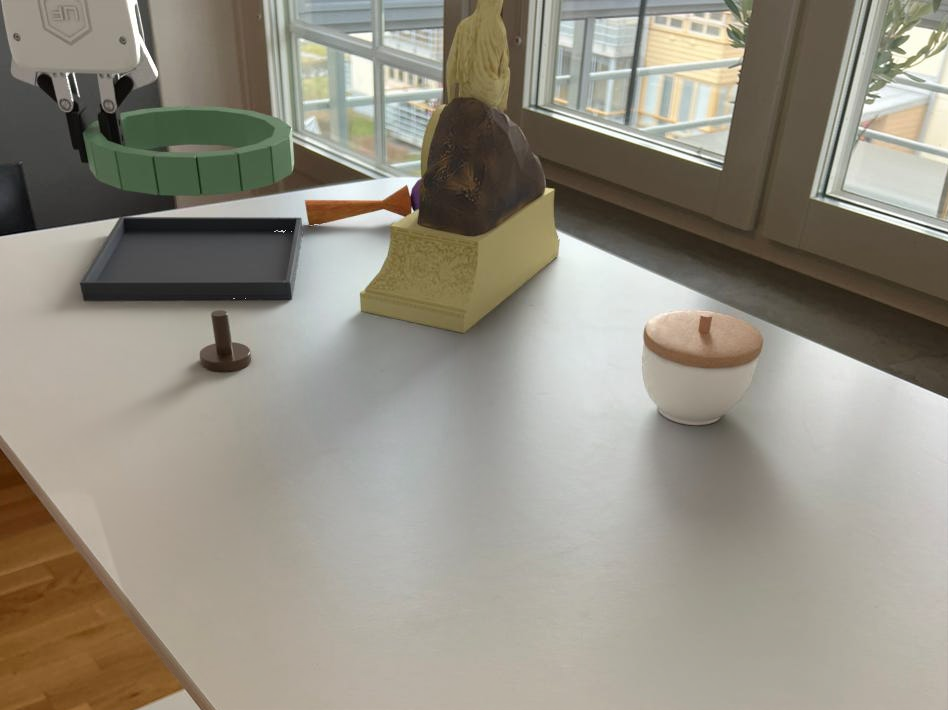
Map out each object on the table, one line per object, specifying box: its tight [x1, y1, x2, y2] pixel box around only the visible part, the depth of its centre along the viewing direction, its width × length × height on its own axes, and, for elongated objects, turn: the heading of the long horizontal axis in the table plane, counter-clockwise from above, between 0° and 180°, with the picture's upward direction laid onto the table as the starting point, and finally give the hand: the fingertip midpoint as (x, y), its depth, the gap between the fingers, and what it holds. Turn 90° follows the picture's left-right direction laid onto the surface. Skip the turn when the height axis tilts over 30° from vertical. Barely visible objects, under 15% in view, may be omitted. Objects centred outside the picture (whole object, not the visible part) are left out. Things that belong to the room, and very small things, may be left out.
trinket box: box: [641, 309, 764, 426], centre depth 92 cm, size 11×11×9 cm
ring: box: [83, 105, 295, 197], centre depth 88 cm, size 18×18×3 cm
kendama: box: [304, 177, 422, 226], centre depth 133 cm, size 6×6×20 cm
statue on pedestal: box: [359, 0, 560, 334], centre depth 110 cm, size 28×13×30 cm, turn 155°
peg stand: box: [199, 309, 252, 373], centre depth 99 cm, size 5×5×5 cm
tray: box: [79, 216, 303, 301], centre depth 121 cm, size 23×23×2 cm
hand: (101, 157), depth 88 cm, fingers closed on ring, 1 cm apart
